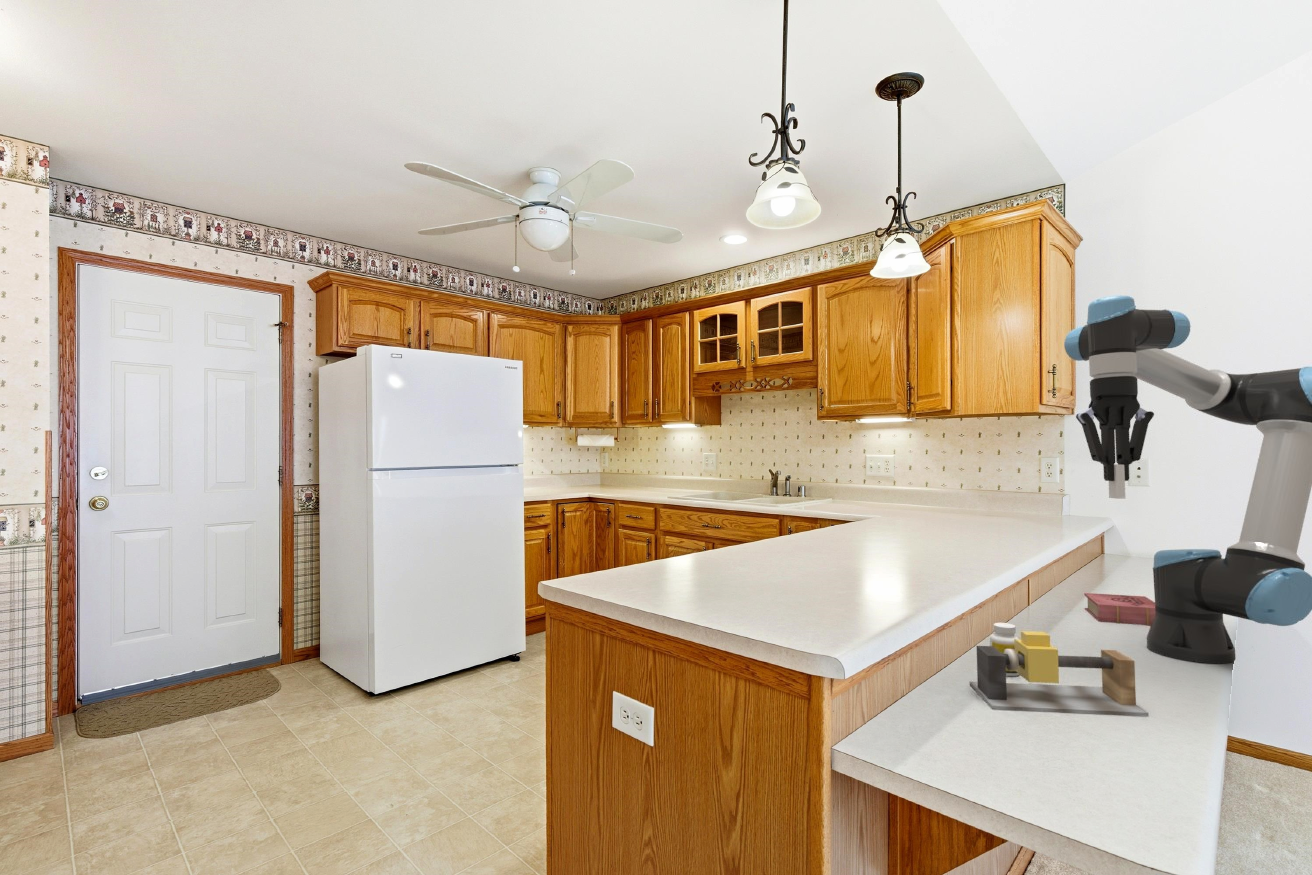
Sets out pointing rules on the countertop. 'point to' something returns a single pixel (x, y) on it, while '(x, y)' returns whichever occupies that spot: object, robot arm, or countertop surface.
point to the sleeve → (1037, 657)
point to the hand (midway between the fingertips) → (1117, 497)
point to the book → (1121, 608)
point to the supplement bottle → (1004, 640)
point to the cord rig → (1107, 699)
